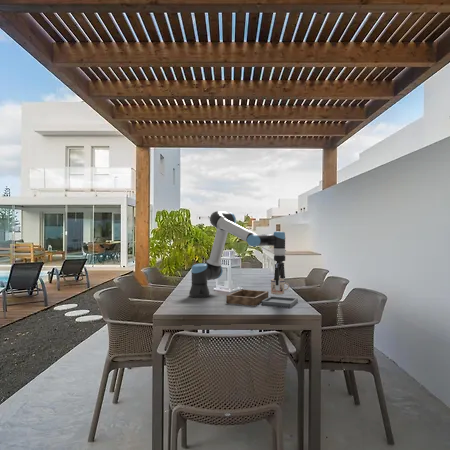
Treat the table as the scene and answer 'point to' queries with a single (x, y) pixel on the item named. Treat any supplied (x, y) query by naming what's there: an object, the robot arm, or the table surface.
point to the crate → (247, 297)
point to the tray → (279, 301)
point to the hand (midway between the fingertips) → (279, 289)
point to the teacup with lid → (280, 287)
